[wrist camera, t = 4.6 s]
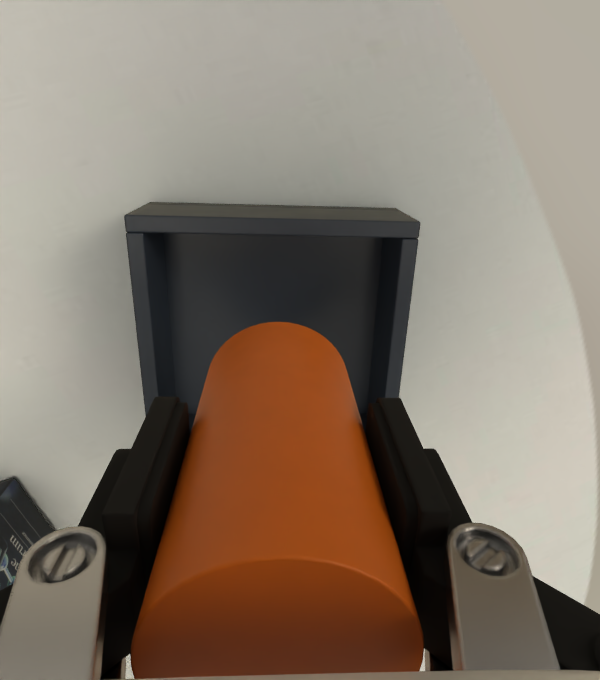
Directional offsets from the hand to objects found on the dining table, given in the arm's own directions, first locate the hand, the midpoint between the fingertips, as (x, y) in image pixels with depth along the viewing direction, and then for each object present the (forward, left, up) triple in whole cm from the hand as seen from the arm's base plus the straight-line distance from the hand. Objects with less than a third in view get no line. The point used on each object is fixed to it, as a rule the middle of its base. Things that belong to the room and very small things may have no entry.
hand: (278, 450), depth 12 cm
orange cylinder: (0, 0, -3) cm, 3 cm away
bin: (0, 0, -10) cm, 10 cm away
